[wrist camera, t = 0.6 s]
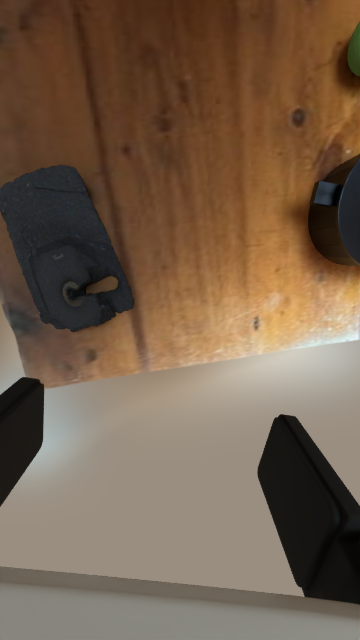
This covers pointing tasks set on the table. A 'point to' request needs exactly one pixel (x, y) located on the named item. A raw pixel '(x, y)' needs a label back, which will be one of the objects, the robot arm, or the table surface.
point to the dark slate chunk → (62, 248)
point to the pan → (328, 215)
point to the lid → (349, 213)
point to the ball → (354, 52)
